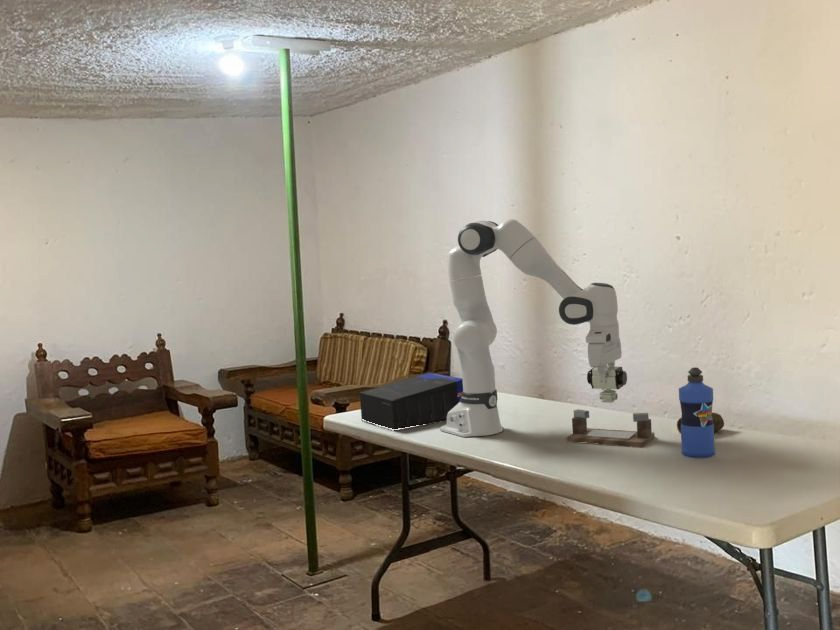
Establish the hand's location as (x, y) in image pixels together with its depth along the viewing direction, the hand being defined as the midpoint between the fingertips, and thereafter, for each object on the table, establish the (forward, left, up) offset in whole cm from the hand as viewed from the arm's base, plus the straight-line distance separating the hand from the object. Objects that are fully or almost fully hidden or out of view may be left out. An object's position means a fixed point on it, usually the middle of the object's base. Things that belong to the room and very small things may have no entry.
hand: (607, 377), depth 260 cm
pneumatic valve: (0, 0, -8) cm, 8 cm away
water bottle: (+32, -4, -20) cm, 38 cm away
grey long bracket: (+2, -3, -18) cm, 18 cm away
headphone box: (-77, -12, -20) cm, 80 cm away
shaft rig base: (+2, -3, -19) cm, 20 cm away
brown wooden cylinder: (+22, +18, -20) cm, 35 cm away
